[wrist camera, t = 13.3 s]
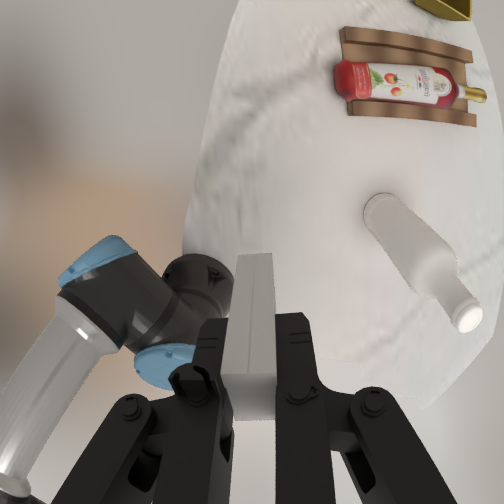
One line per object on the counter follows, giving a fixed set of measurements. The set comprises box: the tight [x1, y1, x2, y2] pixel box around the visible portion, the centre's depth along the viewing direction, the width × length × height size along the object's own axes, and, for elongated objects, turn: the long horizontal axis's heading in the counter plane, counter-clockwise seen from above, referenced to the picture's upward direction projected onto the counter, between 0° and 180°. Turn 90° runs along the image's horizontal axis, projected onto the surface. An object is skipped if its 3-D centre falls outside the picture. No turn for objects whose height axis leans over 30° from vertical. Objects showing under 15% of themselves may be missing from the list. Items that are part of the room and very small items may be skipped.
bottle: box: [363, 193, 483, 333], centre depth 36 cm, size 8×8×30 cm
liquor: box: [334, 59, 487, 110], centre depth 34 cm, size 7×7×28 cm
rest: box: [339, 26, 476, 127], centre depth 36 cm, size 25×15×3 cm, turn 96°
